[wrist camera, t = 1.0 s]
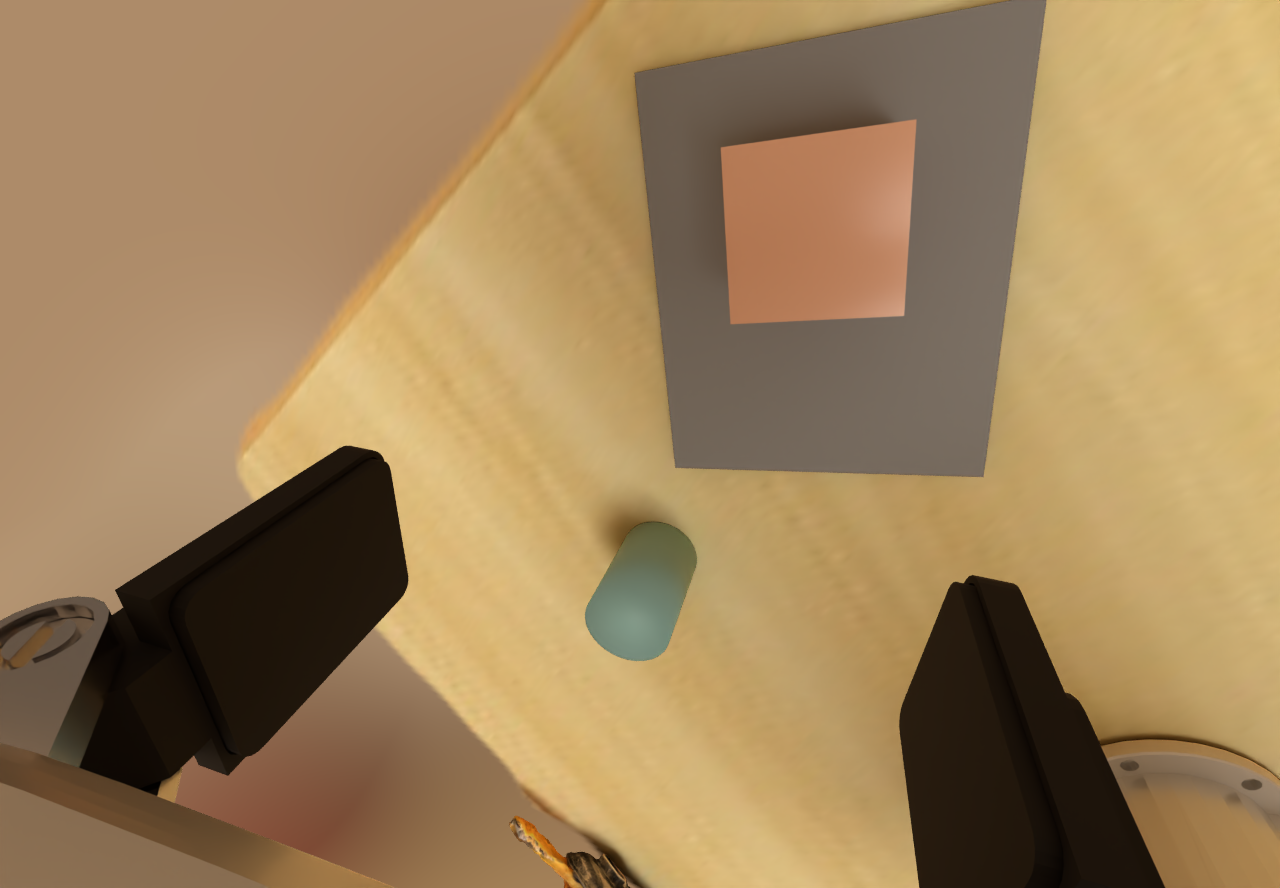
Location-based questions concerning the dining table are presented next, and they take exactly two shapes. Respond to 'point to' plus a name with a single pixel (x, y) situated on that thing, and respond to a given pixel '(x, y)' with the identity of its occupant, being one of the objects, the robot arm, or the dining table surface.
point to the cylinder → (642, 592)
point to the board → (937, 253)
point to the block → (819, 224)
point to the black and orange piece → (570, 861)
